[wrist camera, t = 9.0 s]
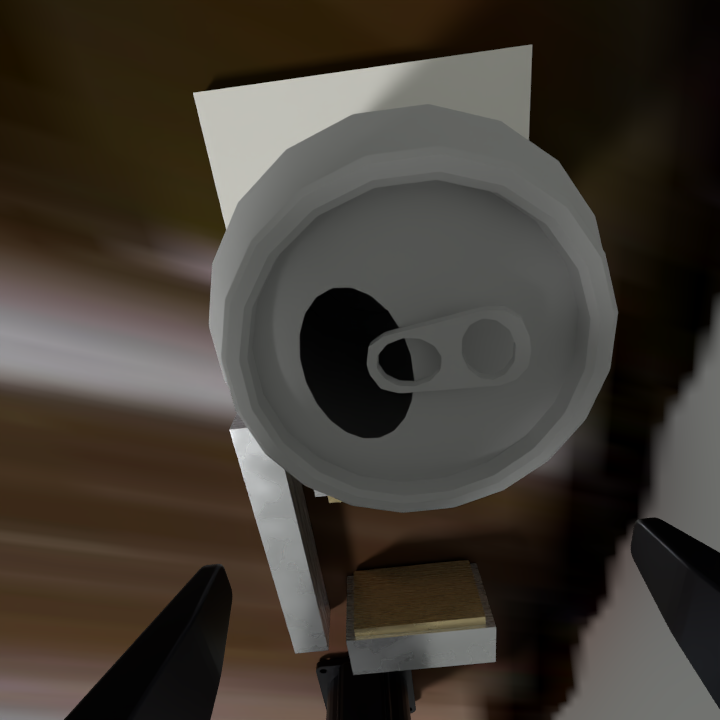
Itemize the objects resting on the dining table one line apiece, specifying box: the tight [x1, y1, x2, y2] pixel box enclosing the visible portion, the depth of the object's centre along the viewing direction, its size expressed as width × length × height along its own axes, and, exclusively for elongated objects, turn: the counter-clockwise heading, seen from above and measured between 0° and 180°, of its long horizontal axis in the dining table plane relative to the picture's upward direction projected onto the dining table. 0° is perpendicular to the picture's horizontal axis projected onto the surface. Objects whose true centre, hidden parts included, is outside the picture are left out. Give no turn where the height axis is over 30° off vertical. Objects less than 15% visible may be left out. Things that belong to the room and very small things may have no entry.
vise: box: [230, 414, 496, 675], centre depth 23 cm, size 16×12×4 cm
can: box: [209, 104, 618, 513], centre depth 12 cm, size 8×8×12 cm
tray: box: [193, 45, 532, 230], centre depth 18 cm, size 12×12×1 cm
